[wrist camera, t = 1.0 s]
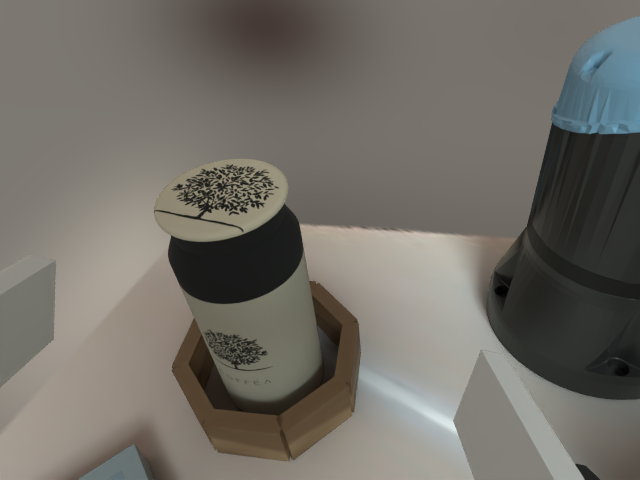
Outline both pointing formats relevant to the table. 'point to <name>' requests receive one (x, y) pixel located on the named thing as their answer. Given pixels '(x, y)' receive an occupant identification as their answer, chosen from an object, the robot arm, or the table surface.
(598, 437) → the table surface
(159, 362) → the table surface
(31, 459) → the table surface
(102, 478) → the tray
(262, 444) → the mug holder
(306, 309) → the travel mug
